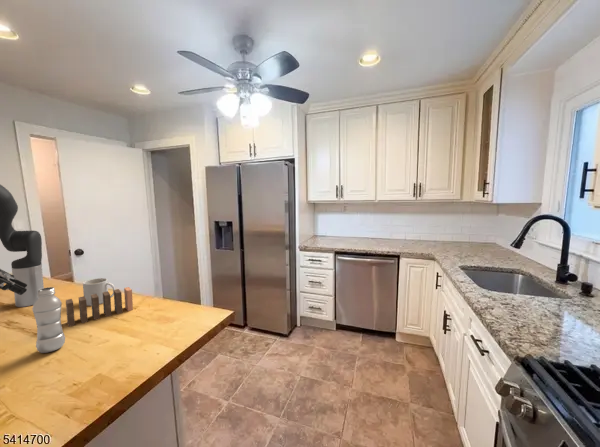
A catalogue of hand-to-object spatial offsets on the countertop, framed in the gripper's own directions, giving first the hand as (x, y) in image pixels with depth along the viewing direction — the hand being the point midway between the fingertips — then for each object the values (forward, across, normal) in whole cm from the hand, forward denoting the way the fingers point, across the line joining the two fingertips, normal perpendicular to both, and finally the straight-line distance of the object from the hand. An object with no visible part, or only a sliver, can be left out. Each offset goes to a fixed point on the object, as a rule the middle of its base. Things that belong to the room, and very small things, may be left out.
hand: (24, 289), depth 88 cm
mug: (+27, +18, -4) cm, 33 cm away
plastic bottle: (+15, -18, +8) cm, 25 cm away
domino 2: (+22, 0, +1) cm, 22 cm away
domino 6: (+33, 0, -10) cm, 34 cm away
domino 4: (+28, 0, -4) cm, 28 cm away
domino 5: (+30, 0, -7) cm, 31 cm away
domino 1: (+19, 0, +4) cm, 20 cm away
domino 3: (+25, 0, -2) cm, 25 cm away
